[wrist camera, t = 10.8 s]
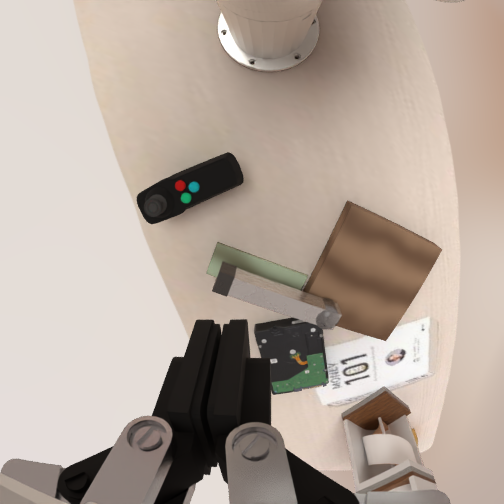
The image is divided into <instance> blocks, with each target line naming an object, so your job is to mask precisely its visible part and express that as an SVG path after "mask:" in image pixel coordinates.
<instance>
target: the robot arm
mask: <svg viewBox="0 0 504 504" xmlns="http://www.w3.org/2000/svg"><path fill="white" fill-rule="evenodd" d="M216 1H217V3H218V5H219V8H220V10H221V13H220V16H219V19H218V26H217V30H218V37H219V39H220V42H221V45H222V46H223V48H224V50H225V51H226V52H227V53H228V55H229V56H230V57H231V58H232V59H234V60H235V61H236V62H238V63H239V64H241V65H243V66H245V67H247V68H250V69H253V70H258V71H263V72H275V71H282V70H286V69H289V68H292V67H294V66H296V65H298V64H300V63H301V62H302V61H304V60H305V59H306V58H307V57H308V56H309V55H310V54H311V52H312V51H313V49H314V48H315V46H316V43H317V41H318V37H319V32H320V31H319V22H318V18H317V15H316V13H317V11H318V9H319V7H320V5H321V3H322V0H216ZM436 1H441V2H460V1H465V0H436ZM312 23H313V25H312ZM223 33H227V34H226V35H223ZM296 56H298V57H299V59H295V57H296ZM251 62H255V64H254V65H251ZM218 463H219V467H220V469H221V473H222V476H223V479H224V481H225V482H226V483H227V484H228V489H229V501H230V504H450V500H449V498H448V497H447V496H446V494H445V493H443V492H441V491H439V490H418V491H393V492H371V491H368V492H367V494H359V493H352V492H351V491H349V490H348V489H346V488H344V487H343V486H341V485H339V484H338V483H336V482H334V481H333V480H331V479H330V478H328V477H327V476H325V475H324V474H322V473H321V472H319V471H318V470H316V469H315V468H313V467H312V466H310V465H309V464H307V463H306V462H304V461H303V460H301V459H300V458H298V457H297V456H295V455H294V454H293V453H291V452H290V451H288V450H287V449H286V448H285V445H284V441H283V438H282V436H281V434H280V432H279V431H278V430H277V429H276V428H274V427H272V426H271V363H270V358H250V347H249V334H248V322H247V319H243V320H230V323H229V324H224V326H223V331H222V335H221V328H220V324H215V323H214V320H196V322H195V325H194V328H193V331H192V334H191V337H190V340H189V344H188V347H187V349H186V352H185V355H184V357H174V358H173V359H172V361H171V364H170V366H169V369H168V372H167V375H166V377H165V380H164V384H163V386H162V389H161V391H160V394H159V397H158V400H157V403H156V406H155V409H154V411H153V414H152V416H143V417H139V418H136V419H134V420H133V421H131V422H130V423H128V425H127V426H126V427H125V428H124V430H123V431H122V433H121V435H120V436H119V438H118V440H117V441H116V443H115V445H114V446H113V447H111V448H108V449H106V450H104V451H102V452H100V453H98V454H96V455H93V456H91V457H89V458H87V459H85V460H82V461H80V462H78V463H75V464H73V465H71V466H69V467H67V468H62V466H61V465H53V464H46V463H39V462H33V461H26V460H21V459H11V460H9V461H7V462H6V463H5V464H4V466H3V468H2V470H1V473H0V504H190V501H191V498H192V496H193V493H194V490H195V485H196V483H197V482H199V481H200V480H202V479H203V475H204V474H205V475H210V472H211V467H217V464H218Z"/></svg>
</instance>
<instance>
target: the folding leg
mask: <svg viewBox="0 0 504 504" xmlns="http://www.w3.org/2000/svg"><path fill="white" fill-rule="evenodd" d="M212 291H213V292H216V293H218V294H221V295H224V296H227V295H228V296H231V297H234V298H237V299H240V300H242V301H245V302H248V303H251V304H254V305H257V306H260V307H263V308H266V309H269V310H272V311H275V312H278V313H281V314H284V315H287V316H290V317H293V318H296V319H299V320H302V321H306V322H309V323H312V324H315V325H317V326H318V327H320V328H322V329H331V330H333V329H334V327H335V326H336V325H337V324H338V322H339V319H340V317H341V316H342V314H341V311H340V308H339V306H338V303H335V302H334V301H333V300H332V299H329V298H321V297H318V296H315V295H312V294H309V293H306V292H303V291H300V290H298V289H295V288H292V287H289V286H286V285H283V284H280V283H278V282H275V281H272V280H269V279H266V278H264V277H261V276H258V275H255V274H252V273H250V272H247V271H244V270H241V269H238V268H237V266H234V265H231V264H229V263H226V262H223V261H222V264H221V267H220V270H219V272H218V275H217V278H216V280H215V284H214V287H213V290H212Z"/></svg>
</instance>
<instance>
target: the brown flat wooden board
mask: <svg viewBox="0 0 504 504" xmlns="http://www.w3.org/2000/svg"><path fill="white" fill-rule="evenodd" d="M441 251H442V249H441V248H440V247H438V246H437V245H436V244H435V243H433V242H431V241H429V240H427V239H425V238H423V237H421V236H420V235H418V234H416V233H414V232H412V231H410V230H408V229H406V228H404V227H402V226H400V225H398V224H396V223H394V222H392V221H390V220H388V219H386V218H384V217H382V216H379V215H377V214H375V213H373V212H371V211H369V210H367V209H365V208H363V207H360V206H358V205H356V204H354V203H352V202H349V201H347V202H346V205H345V207H344V209H343V211H342V213H341V215H340V217H339V220H338V222H337V224H336V226H335V228H334V230H333V232H332V234H331V236H330V238H329V240H328V242H327V244H326V246H325V249H324V251H323V253H322V255H321V257H320V259H319V261H318V263H317V265H316V267H315V269H314V271H313V272H312V274H311V276H310V278H309V280H308V282H307V284H306V286H305V288H304V290H303V292H306V293H309V294H312V295H315V296H318V297H321V298H329V299H332V300H333V301H334V302H335V303H338V306H339V308H340V311H341V314H342V316H341V317H340V319H339V322H338V324H337V325H336V326H338V327H342V328H345V329H348V330H351V331H354V332H358V333H361V334H364V335H367V336H371V337H374V338H377V339H381V340H384V341H386V340H387V339H388V337H389V336H390V334H391V333H392V331H393V330H394V328H395V327H396V326H397V324H398V323H399V321H400V320H401V318H402V316H403V315H404V313H405V312H406V310H407V309H408V307H409V306H410V304H411V302H412V301H413V299H414V298H415V296H416V294H417V293H418V291H419V290H420V288H421V286H422V285H423V283H424V281H425V279H426V278H427V276H428V274H429V273H430V271H431V269H432V267H433V265H434V264H435V262H436V260H437V258H438V256H439V255H440V253H441ZM222 261H223V262H226V263H229V264H231V265H234V266H237V268H238V269H241V270H244V271H247V272H250V273H252V274H255V275H258V276H261V277H264V278H266V279H269V280H272V281H275V282H278V283H280V284H283V285H286V286H289V287H292V288H295V289H298V290H300V291H301V289H302V287H303V285H304V283H305V281H306V279H307V277H308V275H306V274H303V273H300V272H297V271H295V270H292V269H289V268H287V267H284V266H281V265H278V264H276V263H273V262H270V261H268V260H265V259H262V258H259V257H257V256H254V255H251V254H249V253H246V252H243V251H240V250H238V249H235V248H232V247H230V246H227V245H224V244H222V243H219V242H217V245H216V248H215V251H214V253H213V256H212V259H211V262H210V265H209V267H208V270H207V273H206V274H209V275H211V276H214V277H217V275H218V272H219V270H220V267H221V264H222Z"/></svg>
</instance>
